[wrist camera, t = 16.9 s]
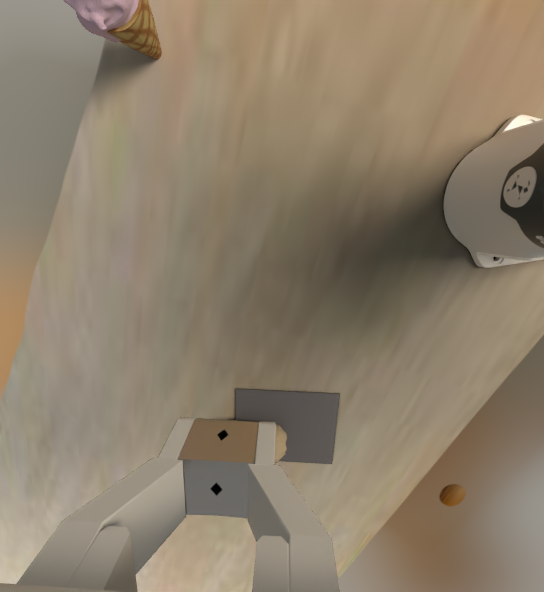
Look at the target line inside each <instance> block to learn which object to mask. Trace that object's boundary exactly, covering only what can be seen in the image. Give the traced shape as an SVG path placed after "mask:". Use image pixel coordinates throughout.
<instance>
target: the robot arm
mask: <svg viewBox="0 0 544 592" xmlns="http://www.w3.org/2000/svg"><path fill="white" fill-rule="evenodd" d="M444 215H445V219H446V223H447V225H448V227H449V229H450V231H451V233H452V234H453V235H454V237H455V238H456V239H457V240H458V241H459V242H461V243H462V244H463V245H464V246H466V247H467V248H468V250H469V251H470V253H471V256H472V258H473V260H474V262H475V263H476V265H477V266H479V267H483V268H491V267H497V266H504V265H511V264H518V263H524V262H531V261H538V260H544V119H539V118H535V117H531V116H528V115H518V116H514V117H512V118H510V119H509V120H508V121H507V122H506V123H505V124H504V125H503V126H502V127H501V128H500V130H499V131H498V132H497V133H496V134H495V136H494V137H492V138H491V139H490V140H488V141H487V142H485V143H483V144H482V145H480V146H478V147H477V148H475V149H474V150H473V151H471V152H470V153H469V154H468V155H467V156H466V157H465V158H464V159H463V160H462V161H461V162H460V163H459V165H458V166H457V167H456V169H455V170H454V172H453V174H452V176H451V178H450V180H449V182H448V185H447V188H446V191H445V196H444ZM494 257H496V259H495V260H493V258H494ZM275 437H276V423H275V422H247V421H228V420H215V419H202V418H185V417H180V418H179V419H178V420H177V421H176V423H175V425H174V427H173V429H172V431H171V433H170V435H169V437H168V439H167V441H166V442H165V444H164V446H163V448H162V450H161V452H160V454H159V456H158V458H157V459H155V458H152V459H150V460H149V461H148V462H146V463H145V464H143V465H142V466H140V467H139V468H137V469H136V470H135V471H133V472H132V473H130V474H129V475H127V476H126V477H125V478H123V479H122V480H120V481H119V482H117V483H116V484H115V485H113V486H112V487H110V488H109V489H107V490H106V491H104V492H103V493H102V494H100V495H99V496H97V497H96V498H94V499H93V500H92V501H90V502H89V503H87V504H86V505H84V506H83V507H82V508H80V509H79V510H77V511H76V512H74V513H73V514H71V515H70V516H69V517H67V518H66V519H64V520H63V521H62V522H61V523H60V525H59V526H58V527H57V529H56V530H55V532H54V533H53V534H52V536H51V537H50V538H49V540H48V541H47V543H46V544H45V545H44V547H43V548H42V549H41V551H40V552H39V554H38V555H37V556H36V558H35V559H34V560H33V562H32V563H31V565H30V566H29V567H28V569H27V570H26V571H25V573H24V574H23V576H22V577H21V578H20V580H19V581H18V582H17V584H5V583H0V592H137V584H136V576H135V575H136V574H137V573H138V571H139V570H140V569H141V568H142V567H143V566H144V564H145V563H146V562H147V561H148V560H149V559H150V558H151V556H152V555H153V554H154V553H155V552H156V551H157V549H158V548H159V547H160V546H161V545H162V544H163V542H164V541H165V540H166V539H167V538H168V537H169V536H170V534H171V533H172V532H173V531H174V530H175V529H176V527H177V526H178V525H179V524H180V523H181V522H182V521H183V519H184V518H185V517H186V514H189V515H219V516H230V517H241V518H248V522H249V525H250V527H251V530H252V532H253V534H254V537H255V539H256V542H257V545H256V556H255V567H254V577H253V588H252V592H340V590H339V584H338V576H337V570H336V563H335V557H334V550H333V544H332V538H331V537H330V535H329V534H328V532H327V531H326V530H325V528H324V527H323V525H322V524H321V523H320V521H319V520H318V518H317V517H316V516H315V514H314V513H313V511H312V510H311V509H310V507H309V506H308V504H307V503H306V502H305V500H304V499H303V497H302V496H301V495H300V493H299V492H298V490H297V489H296V488H295V486H294V485H293V483H292V482H291V481H290V479H289V478H288V476H287V475H286V474H285V472H284V471H283V469H282V468H281V467H280V466H279V465H275Z"/></svg>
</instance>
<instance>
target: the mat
mask: <svg viewBox="0 0 544 592" xmlns="http://www.w3.org/2000/svg"><path fill="white" fill-rule="evenodd" d="M339 398H340V393H320V392H299V391H278V390H257V389H236V421H247V422H275V423H276V424H277V425H279V426H280V427H281V428H282V429H283V430H284V431H285V432H286V433H287V440H286V448H287V450H286V452H285V455H284V456H283V457H282V458H281V459H280V460H279V461H285V462H304V463H323V464H332V461H333V452H334V443H335V434H336V425H337V416H338V407H339Z"/></svg>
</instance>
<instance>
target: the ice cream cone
mask: <svg viewBox="0 0 544 592" xmlns="http://www.w3.org/2000/svg"><path fill="white" fill-rule="evenodd" d="M64 1H65V2H66V3H67V4H68V5H70V6H71V7H72V8H73V9H74V10H75V11H76V14H77V17H78V19H79V21H80V22H81V24H82V25H83V26H84V27H85V28H86V29H87V30H88V31H89V32H91V33H93V34H96V35H99V36H103V37H104V38H106V39H109V40H111V41H113V42H118V41H120V42H122V43H123V44H125V45H127V46H129V47H131V48H133V49H135V50H137V51H139V52H141V53H143V54H145V55H148V56H150V57H152V58H154V59H159V58H160V57H161V48H160V43H159V39H158V34H157V30H156V26H155V23H154V19H153V15H152V12H151V8H150V5H149V2H148V0H64Z"/></svg>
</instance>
